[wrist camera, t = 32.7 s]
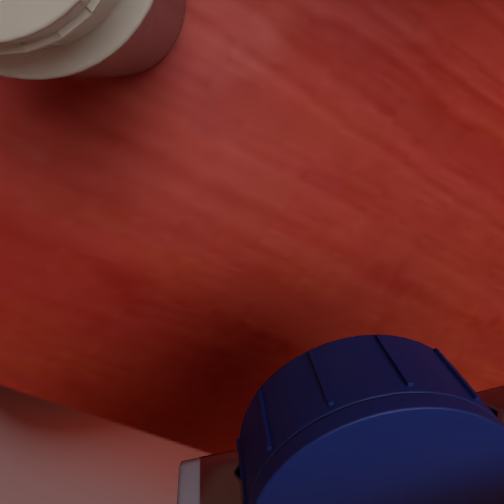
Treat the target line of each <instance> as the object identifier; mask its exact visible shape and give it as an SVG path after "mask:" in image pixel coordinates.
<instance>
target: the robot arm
mask: <svg viewBox="0 0 504 504" xmlns="http://www.w3.org/2000/svg"><path fill="white" fill-rule="evenodd" d="M476 393H477V394H478V396H479V397H480V398H481V399H482V400H483V402H484V403H485V404H486V405H487V406H488V407H489V409H490V410H491V411H492V412H493V413H494V414H495V416H496V417H497V418H498V419H499V420H500V422H501V423H502V424H503V425H504V386H500V387H496V388H492V389H488V390H484V391H480V392H476ZM239 465H240V453H238V451H237V450H232V451H227V452H222V453H217V454H212V455H208V456H203V457H199V458H194V459H190V460H185V461H182V462H181V464H180V467H179V480H178V496H177V504H245V502H244V495H243V483H242V480H241V479H240V474H239Z"/></svg>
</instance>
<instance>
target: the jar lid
mask: <svg viewBox="0 0 504 504" xmlns="http://www.w3.org/2000/svg"><path fill="white" fill-rule="evenodd" d="M256 393H257V394H256V395H255V396H254V398H253V399H252V401H251V403H250V405H249V407H248V409H247V411H246V413H245V416H244V419H243V422H242V425H241V431H240V437H239V439H237V441H236V442H237V451H238V453H240V465H239V474H240V479H241V480H242V483H243V495H244V502H245V504H504V425H503V424H502V423H501V422H500V420H499V419H498V418H497V417H496V416H495V414H494V413H493V412H492V411H491V410H490V409H489V407H488V406H487V405H486V404H485V403H484V402H483V400H482V399H481V398H480V397H479V396H478V394H477V393H476V392H475V391H474V390H473V389H472V387H471V386H470V385H469V384H468V383H467V382H466V380H465V379H464V378H463V377H462V376H461V375H460V373H459V372H458V371H457V370H456V369H455V368H454V366H453V365H452V364H451V363H450V362H449V361H448V360H447V359H446V358H445V357H444V355H443V354H442V353H441V352H440V351H439V350H438V349H437V348H435V349H432V348H430V347H428V346H426V345H424V344H422V343H420V342H417V341H414V340H410V339H407V338H403V337H397V336H391V335H363V336H355V337H349V338H344V339H340V340H336V341H333V342H329V343H326V344H323V345H321V346H319V347H316V348H314V349H311V350H309V351H307V352H305V353H304V354H302V355H300V356H298V357H296V358H295V359H293V360H292V361H290V362H289V363H287V364H286V365H284V366H283V367H282V368H280V369H279V370H278V371H277V372H276V373H275V374H273V375H272V376H271V377H270V378H269V379H268V380H267V381H266V382H265V384H264V385H263V386H262V387H261V388H260V389H259V390H258V391H257V392H256Z"/></svg>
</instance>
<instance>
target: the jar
mask: <svg viewBox="0 0 504 504" xmlns="http://www.w3.org/2000/svg"><path fill="white" fill-rule="evenodd" d="M185 6H186V0H0V76H2V77H7V78H15V79H23V80H53V79H76V78H99V77H122V76H129V75H134V74H137V73H141V72H143V71H145V70H147V69H149V68H151V67H152V66H154V65H155V64H157V63H158V62H159V61H160V60H162V59H163V58H164V57H165V56H166V54H167V53H168V52H169V51H170V50H171V48H172V47H173V45H174V43H175V42H176V40H177V38H178V36H179V33H180V31H181V28H182V24H183V21H184V15H185Z"/></svg>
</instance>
